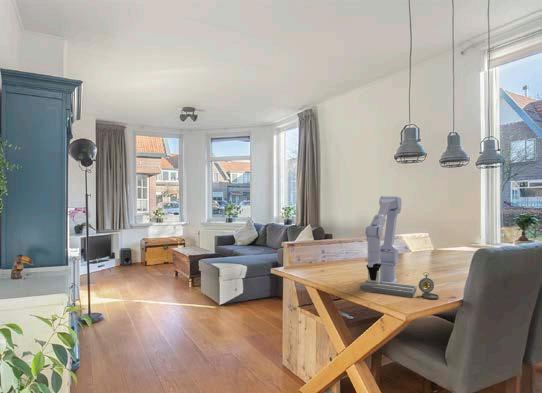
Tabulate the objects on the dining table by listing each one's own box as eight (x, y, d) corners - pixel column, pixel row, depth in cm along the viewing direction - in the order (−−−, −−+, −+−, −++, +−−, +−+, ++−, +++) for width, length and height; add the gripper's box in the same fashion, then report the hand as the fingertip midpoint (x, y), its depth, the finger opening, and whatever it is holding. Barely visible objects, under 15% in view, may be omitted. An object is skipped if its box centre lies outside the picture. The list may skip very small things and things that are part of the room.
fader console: (366, 284, 169) (366, 278, 169) (416, 290, 157) (416, 284, 157) (359, 290, 158) (359, 283, 158) (413, 297, 147) (413, 290, 147)
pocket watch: (433, 300, 142) (433, 276, 142) (415, 295, 149) (415, 273, 149) (443, 297, 147) (443, 274, 147) (425, 292, 154) (425, 270, 154)
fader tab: (369, 282, 164) (369, 269, 164) (380, 283, 162) (380, 270, 162) (367, 284, 161) (367, 271, 161) (378, 285, 158) (378, 272, 158)
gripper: (369, 248, 169) (369, 275, 169) (361, 252, 157) (361, 281, 157) (383, 249, 166) (383, 277, 166) (377, 253, 153) (377, 283, 153)
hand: (373, 279), depth 161 cm, fingers closed on fader tab, 2 cm apart
